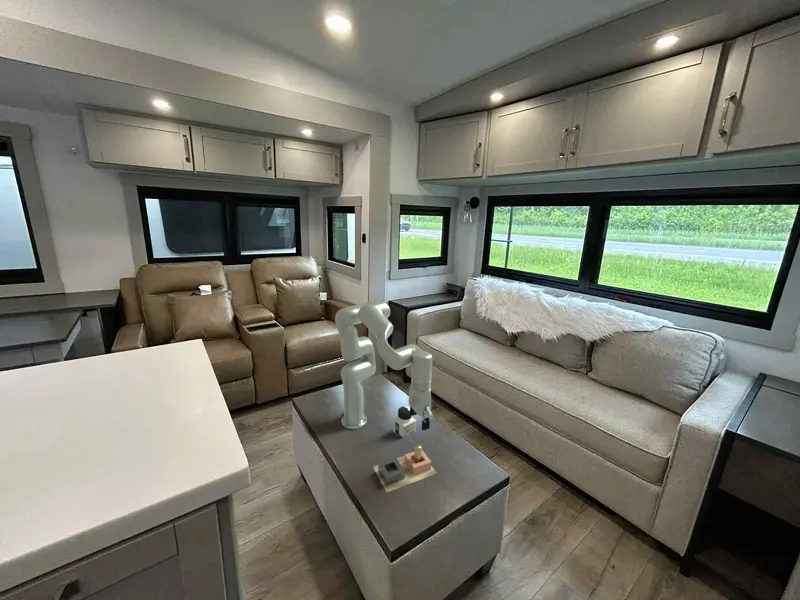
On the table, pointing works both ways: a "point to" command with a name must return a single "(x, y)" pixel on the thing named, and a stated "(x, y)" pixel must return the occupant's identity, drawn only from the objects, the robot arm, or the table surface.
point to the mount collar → (392, 476)
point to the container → (404, 422)
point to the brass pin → (418, 453)
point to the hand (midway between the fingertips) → (419, 421)
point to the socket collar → (417, 467)
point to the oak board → (408, 476)
